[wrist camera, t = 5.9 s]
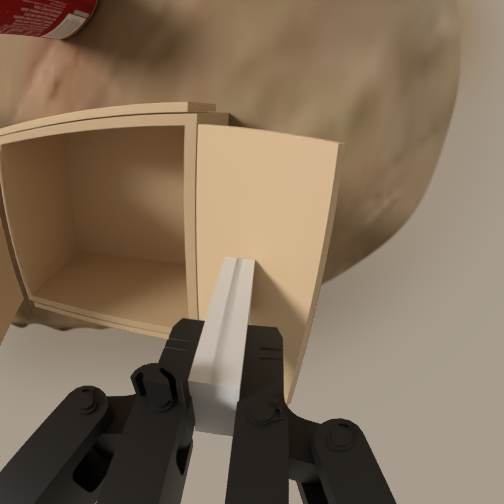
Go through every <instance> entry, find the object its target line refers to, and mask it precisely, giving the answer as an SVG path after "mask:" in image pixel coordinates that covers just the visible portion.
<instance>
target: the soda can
mask: <svg viewBox="0 0 504 504" xmlns="http://www.w3.org/2000/svg"><path fill="white" fill-rule="evenodd" d="M97 3H98V0H0V34H15V35H26V36H35V37H43V38H50V39H57V40H60V39H65V38H68V37H70V36H72V35H74V34H75V33H76V32H78V31H79V30H80V29H81V28H82V27H83V26H84V25H85V24H86V23H87V22H88V20H89V19H90V17H91V16H92V14H93V12H94V10H95V8H96V6H97Z"/></svg>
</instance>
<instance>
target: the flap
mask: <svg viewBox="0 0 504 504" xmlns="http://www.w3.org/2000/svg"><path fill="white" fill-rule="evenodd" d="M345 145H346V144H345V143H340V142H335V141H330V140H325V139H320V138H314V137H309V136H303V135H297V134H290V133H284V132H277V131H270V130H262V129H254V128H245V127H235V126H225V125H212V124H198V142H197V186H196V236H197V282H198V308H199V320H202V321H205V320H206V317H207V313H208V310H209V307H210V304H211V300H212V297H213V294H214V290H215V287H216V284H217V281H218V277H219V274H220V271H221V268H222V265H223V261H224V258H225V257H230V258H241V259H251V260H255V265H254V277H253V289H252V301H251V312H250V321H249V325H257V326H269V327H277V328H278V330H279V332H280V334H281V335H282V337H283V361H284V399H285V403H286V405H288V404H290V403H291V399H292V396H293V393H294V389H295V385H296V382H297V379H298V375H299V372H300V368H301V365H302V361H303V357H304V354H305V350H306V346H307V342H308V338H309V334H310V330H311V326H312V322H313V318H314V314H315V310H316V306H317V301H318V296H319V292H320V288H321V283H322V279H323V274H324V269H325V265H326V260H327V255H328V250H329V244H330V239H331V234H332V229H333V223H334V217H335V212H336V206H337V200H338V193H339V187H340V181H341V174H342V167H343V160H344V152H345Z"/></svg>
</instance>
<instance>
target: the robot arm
mask: <svg viewBox="0 0 504 504" xmlns="http://www.w3.org/2000/svg"><path fill="white" fill-rule="evenodd" d="M254 265H255V260H251V259H241V258H230V257H225V258H224V261H223V265H222V268H221V271H220V274H219V277H218V281H217V284H216V287H215V290H214V294H213V297H212V300H211V304H210V307H209V310H208V313H207V317H206V320H205V321H202V320H194V319H187V318H182V319H181V320H180V321H179V322H177V323H176V324H175V325H174V326H173V328H172V330H171V333H170V335H169V339H168V340H167V342H166V345H165V348H164V350H163V352H162V355H161V357H160V360H159V363H151V364H147V365H143V366H141V367H140V368H138V369H137V370H135V371H134V373H133V374H132V375H131V377H130V378H131V380H132V383H133V386H134V389H135V392H136V394H134V395H129V396H106V395H105V393H104V392H103V391H102V390H101V389H99V388H97V387H94V386H82V387H79V388H76V389H75V390H74V391H72V392H71V393H69V394H68V396H67V397H66V398H65V399H64V400H63V401H62V402H61V403H60V404H59V405H58V407H57V408H56V409H55V410H54V411H53V412H52V413H51V414H50V415H49V416H48V418H47V419H46V420H45V421H44V422H43V423H42V424H41V425H40V427H39V428H38V429H37V430H36V431H35V432H34V433H33V434H32V436H31V437H30V438H29V439H28V440H27V441H26V442H25V444H24V445H23V446H22V447H21V448H20V450H19V451H18V452H17V453H16V454H15V455H14V456H13V458H12V459H11V460H10V461H9V462H8V463H7V465H6V466H5V467H4V468H3V469H2V471H1V472H0V504H95V503H96V501H97V503H96V504H180V503H181V498H182V494H183V489H184V485H185V480H186V476H187V471H188V466H189V462H190V457H191V453H192V448H193V440H192V435H193V431H194V426H195V429H196V431H200V432H207V433H212V434H221V435H228V436H233V441H232V450H231V457H230V465H229V473H228V482H227V490H226V499H225V504H289V503H288V502H289V500H288V499H289V479H291V480H295V481H296V482H297V486H298V489H299V492H300V495H301V499H302V502H303V504H396V502H395V499H394V497H393V495H392V493H391V491H390V489H389V487H388V484H387V483H386V480H385V478H384V476H383V474H382V472H381V469H380V467H379V465H378V463H377V461H376V459H375V457H374V455H373V452H372V451H371V448H370V446H369V444H368V442H367V440H366V438H365V436H364V434H363V432H362V431H361V429H360V428H359V427H358V426H357V425H356V424H354V423H353V422H351V421H349V420H345V419H341V418H339V419H330V420H328V421H326V422H323V423H322V424H319V423H315V422H312V421H308V420H305V419H303V418H301V417H298V416H296V415H295V414H294V413H293V412H291V410H290V409H289V408H288V407H287V405H286V403H285V399H284V361H283V337H282V335H281V334H280V332H279V330H278V328H277V327H269V326H257V325H249V321H250V312H251V301H252V289H253V277H254Z"/></svg>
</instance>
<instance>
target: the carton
mask: <svg viewBox="0 0 504 504" xmlns="http://www.w3.org/2000/svg"><path fill="white" fill-rule="evenodd" d="M194 111H216V104H206V103H196V102H166V103H148V104H134V105H123V106H114V107H105V108H97V109H90V110H83V111H77V112H71V113H65V114H60V115H55V116H50V117H45V118H40V119H36V120H31V121H27V122H23V123H19V124H15V125H12V126H8V127H4V128H1V129H0V135H3V134H7V133H11V132H16V131H20V130H24V129H28V130H24V131H20V132H16V133H12V134H8V135H4V136H1V137H0V182H1V189H2V196H3V202H4V208H5V213H6V218H7V223H8V227H9V232H10V236H11V240H12V244H13V248H14V252H15V256H16V259H17V263H18V266H19V269H20V273H21V276H22V279H23V282H24V285H25V288H26V291H27V294H28V297H29V300H32V301H34V305H35V306H36V307H39V308H42V309H45V310H49V311H52V312H55V313H59V314H62V315H66V316H69V317H73V318H76V319H80V320H84V321H87V322H91V323H95V324H99V325H103V326H107V327H112V328H116V329H120V330H125V331H129V332H134V333H138V334H143V335H148V336H153V337H158V338H163V339H169V335H170V333H171V330H172V328H173V326H174V325H175V324H176V323H177V322H179V321H180V320H181V319H182V318H187V319H194V320H199V308H198V282H197V236H196V186H197V142H198V124H212V125H225V126H228V122H229V113H216V112H194ZM155 112H173V113H155ZM137 113H147V114H137ZM124 114H132V115H124ZM113 115H119V116H113ZM103 116H109V117H103ZM95 117H99V118H95ZM87 118H91V119H87ZM79 119H83V120H79ZM73 120H76V121H73ZM66 121H69V122H66ZM60 122H63V123H60ZM54 123H58V124H54ZM49 124H52V125H49ZM43 125H47V126H43ZM38 126H42V127H38ZM34 127H38V128H34ZM29 128H33V129H29Z"/></svg>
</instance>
